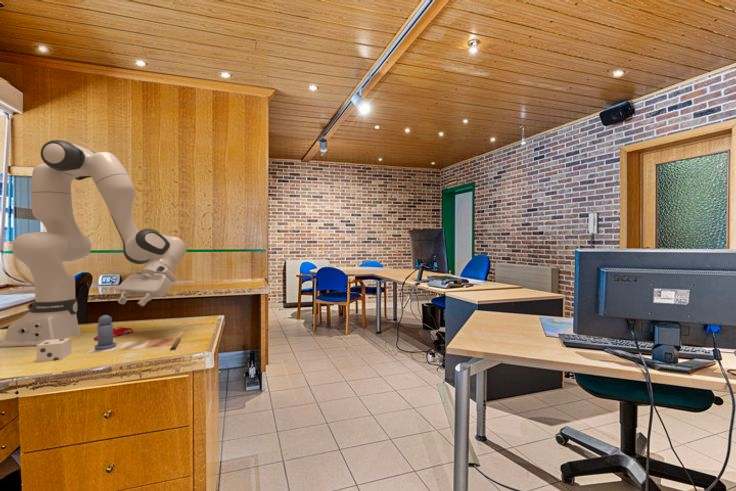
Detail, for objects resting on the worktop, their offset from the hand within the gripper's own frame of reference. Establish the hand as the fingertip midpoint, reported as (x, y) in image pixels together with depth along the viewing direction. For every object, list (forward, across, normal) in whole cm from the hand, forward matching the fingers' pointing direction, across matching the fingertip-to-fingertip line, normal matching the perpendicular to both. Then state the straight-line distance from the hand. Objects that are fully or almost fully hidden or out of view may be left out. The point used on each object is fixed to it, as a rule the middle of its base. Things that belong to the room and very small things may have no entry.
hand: (130, 304), depth 123 cm
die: (+24, -5, -4) cm, 25 cm away
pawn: (+15, 0, +3) cm, 15 cm away
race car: (+8, -12, +12) cm, 19 cm away
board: (+12, +6, +8) cm, 16 cm away
